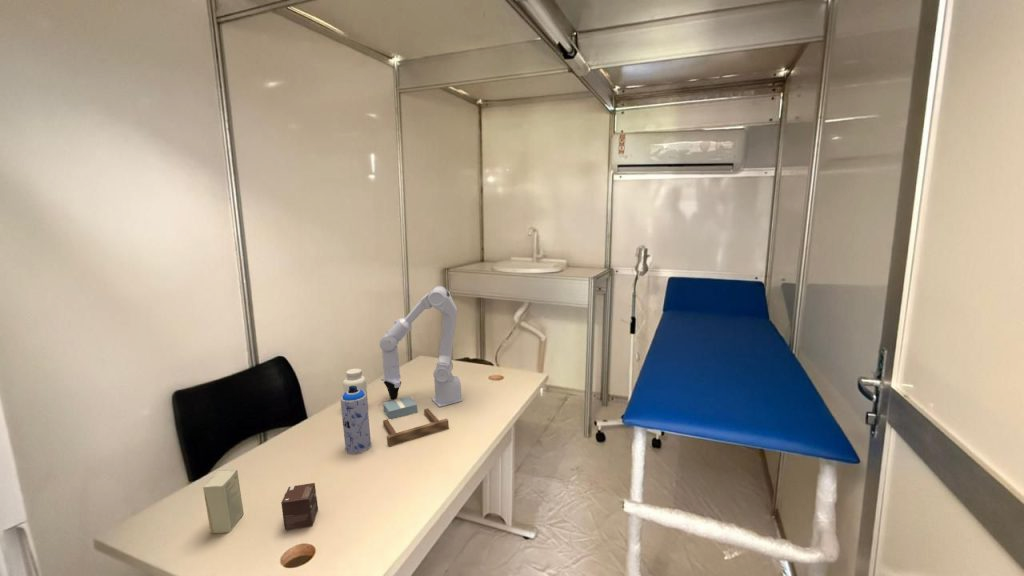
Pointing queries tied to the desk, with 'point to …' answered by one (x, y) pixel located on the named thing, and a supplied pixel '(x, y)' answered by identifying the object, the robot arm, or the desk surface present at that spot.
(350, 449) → the aerosol can
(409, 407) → the carton
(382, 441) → the desk surface
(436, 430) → the stand
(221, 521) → the skincare box
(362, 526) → the desk surface
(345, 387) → the pill bottle
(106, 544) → the desk surface
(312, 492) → the box
